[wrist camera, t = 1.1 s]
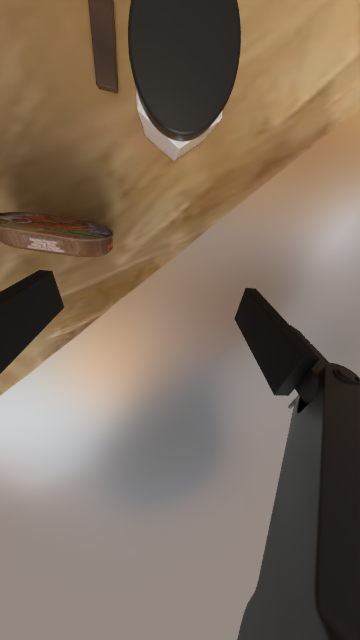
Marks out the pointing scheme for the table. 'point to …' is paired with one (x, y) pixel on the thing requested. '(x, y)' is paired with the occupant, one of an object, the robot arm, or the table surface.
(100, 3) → the serving spoon
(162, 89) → the jar
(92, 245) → the tin
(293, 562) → the robot arm
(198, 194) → the table surface
